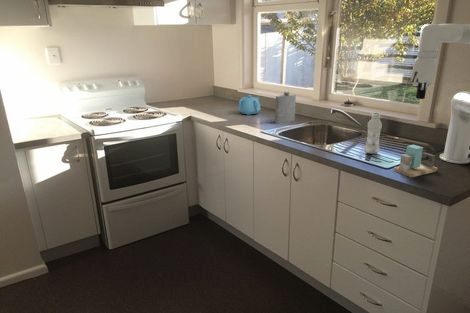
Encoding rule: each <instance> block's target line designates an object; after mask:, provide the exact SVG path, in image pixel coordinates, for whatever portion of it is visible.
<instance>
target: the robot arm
mask: <svg viewBox="0 0 470 313" xmlns="http://www.w3.org/2000/svg"><path fill="white" fill-rule="evenodd" d="M440 43H444V44H445V43H446V44H447V43H448V44H452V43H456V44H457V43H460V44H468V45H470V23H465V24H463V23H462V24H458V23H439V24H436V23H434V24H433V23H432V24H431V23H430V24H427V23H426V24H424V25H422V26H421V29H420V35H419V41H418V49H417V56H416V58H415V59H414V63H413V64H412V65H413V67H412V70H411V74H410V82H412V86H414V87H415V88H416V94H415V98H416V99H418V100H424V99H425V98H426V93H427V90H428V87H429V86H430V85H433V81H435V79H436V73H437V65H438V64H437V63H438V61H437V59H438V52H439V48H440V47H439V46H440ZM469 155H470V91H469V90H468V91H465V90H464V91H462V90H461V91H459V92H457V93H455V94H454V95H453V97H452V98H451V101H450V120H449V123H448V130H447V135H446V139H445V146H444V150H443V152H442V153H440V154H439V158H440V160H442V161H444V162H448V163H453V164H462V165H463V164H464V165H465V164H469V163H470V157H469Z"/></svg>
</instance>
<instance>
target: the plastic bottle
mask: <svg viewBox="0 0 470 313" xmlns="http://www.w3.org/2000/svg"><path fill="white" fill-rule="evenodd" d="M380 118H381V113H380V112H372V113H371V119H370V120H369V121H368V122H367V138H366V143H365V145H364V150H365V153H366V154H369V155H376V154H378V153H379V151H380V135H381V131H382V127H383V124H382V121H381V119H380Z"/></svg>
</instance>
